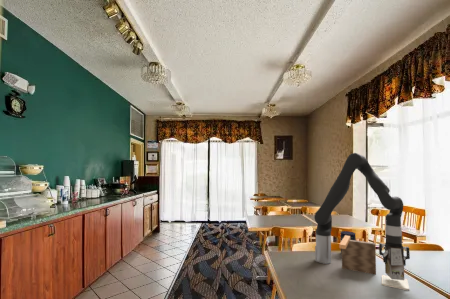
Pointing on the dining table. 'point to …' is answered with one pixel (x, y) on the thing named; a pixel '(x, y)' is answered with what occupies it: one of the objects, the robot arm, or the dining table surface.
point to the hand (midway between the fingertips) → (394, 264)
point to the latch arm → (344, 242)
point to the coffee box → (395, 262)
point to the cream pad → (395, 283)
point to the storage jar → (347, 233)
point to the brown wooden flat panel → (359, 257)
